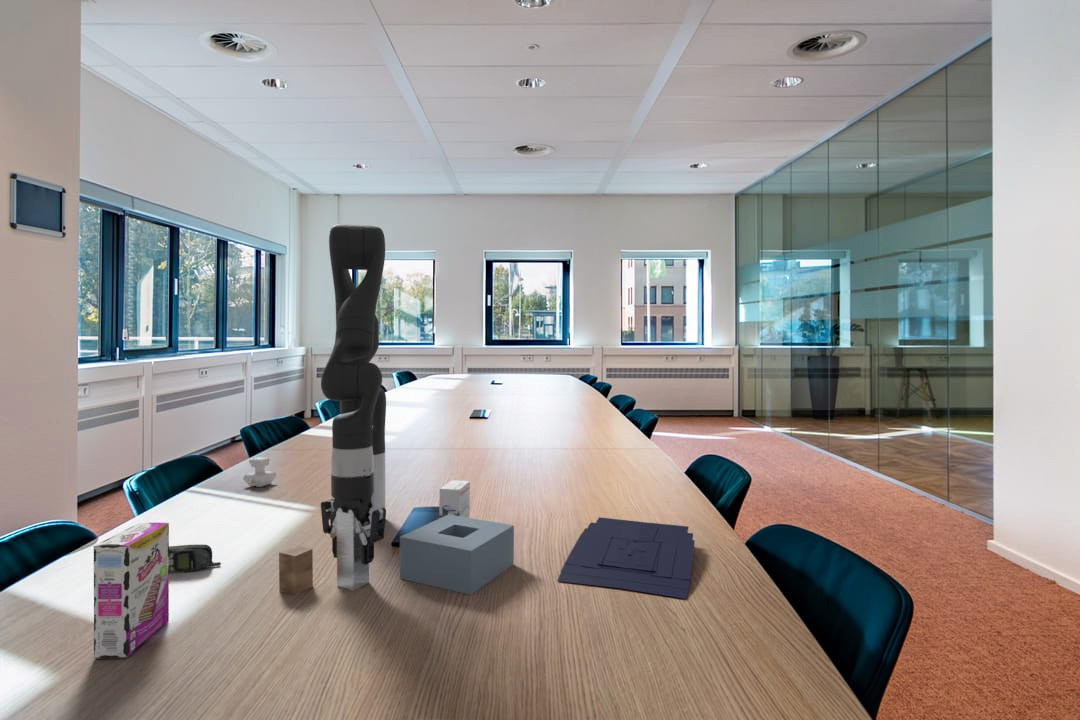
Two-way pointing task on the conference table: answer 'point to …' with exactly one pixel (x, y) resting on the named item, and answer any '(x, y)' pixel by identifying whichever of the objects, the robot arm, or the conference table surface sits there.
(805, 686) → the conference table surface
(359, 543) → the long steel pin
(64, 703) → the conference table surface
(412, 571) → the hole block
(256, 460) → the stamp
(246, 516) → the conference table surface
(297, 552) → the short walnut pin
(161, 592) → the candy bar box
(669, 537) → the navy flat slab
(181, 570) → the mobile phone
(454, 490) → the ink box
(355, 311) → the robot arm
